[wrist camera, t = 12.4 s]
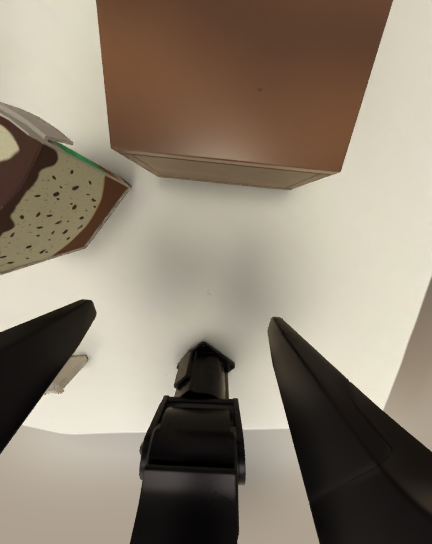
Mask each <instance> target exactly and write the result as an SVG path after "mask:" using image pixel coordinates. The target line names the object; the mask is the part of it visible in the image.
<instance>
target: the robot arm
mask: <svg viewBox="0 0 432 544" xmlns="http://www.w3.org/2000/svg"><path fill="white" fill-rule="evenodd" d="M95 317H96V310H95V307H94V304H93V302H92V301H91V300H85V299H82V300H79V301H77V302H74V303H72V304H69V305H67V306H64V307H62V308H59V309H57V310H54V311H52V312H49V313H47V314H44V315H42V316H39V317H37V318H35V319H32V320H30V321H27V322H25V323H22V324H20V325H17V326H15V327H12V328H10V329H7V330H5V331H2V332H0V454H1V452H2V451H3V450H4V448H5V447H6V445H7V444H8V443H9V441H10V440H11V439H12V437H13V436H14V434H15V433H16V432H17V430H18V429H19V428H20V426H21V425H22V423H23V422H24V421H25V419H26V418H27V417H28V415H29V414H30V412H31V411H32V410H33V408H34V407H35V406H36V404H37V403H38V401H39V400H40V399H41V397H42V396H43V394H44V393H45V392H46V390H47V389H48V388H49V386H50V385H51V383H52V382H53V381H54V379H55V378H56V377H57V375H58V374H59V372H60V371H61V370H62V368H63V367H64V365H65V364H66V363H67V361H68V360H69V359H70V357H71V356H72V354H73V353H74V352H75V350H76V349H77V347H78V346H79V344H80V343H81V341H82V339H83V338H84V336H85V334H86V333H87V331H88V329H89V328H90V326H91V324H92V323H93V321H94V319H95ZM268 338H269V344H270V351H271V357H272V363H273V367H274V371H275V375H276V379H277V383H278V386H279V390H280V394H281V398H282V402H283V405H284V409H285V413H286V417H287V421H288V424H289V428H290V432H291V435H292V440H293V443H294V447H295V451H296V455H297V459H298V462H299V466H300V470H301V473H302V478H303V481H304V485H305V489H306V492H307V497H308V500H309V504H310V509H311V512H312V516H313V519H314V524H315V528H316V531H317V535H318V539H319V542H320V544H432V452H431V451H430V450H429V449H428V448H426V447H425V446H424V445H423V444H422V443H420V442H419V441H418V440H417V439H416V438H414V437H413V436H412V435H411V434H410V433H408V432H407V431H406V430H405V429H404V428H402V427H401V426H400V425H399V424H398V423H396V422H395V421H394V420H393V419H392V418H391V417H389V416H388V415H387V414H386V413H385V412H384V411H382V410H381V409H380V408H379V407H378V406H377V405H376V404H374V403H373V402H372V401H371V400H370V399H369V398H368V397H367V396H365V395H364V394H363V393H362V392H361V391H360V390H359V389H358V388H357V387H356V386H355V385H353V384H352V383H351V382H349V380H348V379H347V378H346V377H345V376H344V375H342V374H341V373H340V372H339V371H338V370H337V369H336V368H335V367H334V366H333V365H332V364H331V363H329V362H328V361H327V360H326V359H325V358H324V357H323V356H322V355H321V354H320V353H319V352H318V351H316V350H315V349H314V348H313V347H312V346H311V345H310V344H309V343H308V342H307V341H306V340H305V339H303V338H302V337H301V336H300V335H299V334H298V333H297V332H296V331H295V330H294V329H293V328H292V327H290V326H289V325H288V324H287V323H286V322H285V321H284V320H283V319H282V318H280V317H272V318H271V321H270V324H269V327H268ZM202 345H204V346H202ZM234 368H235V363H234V362H233V361H231V360H230V359H228V358H227V357H226V356H224V355H223V354H221V353H220V352H219V351H217V350H216V349H214V348H213V347H211V346H210V345H209V344H207V343H206V342H201V343H200V344H199V345H198V346H197V347H196V348H195V349H193V350H191V351H190V352H189V353H187V354H186V355H185V356H184V357H183V358H182V359H181V361H180V362H179V363H178V364H177V369H178V372H177V375H176V379H175V383H174V388H176V392H175V396H174V397H169V396H164V397H163V400H162V402H161V403H160V405H159V407H158V409H157V411H156V413H155V416H154V418H153V420H152V422H151V424H150V427H149V429H148V431H147V433H146V435H145V438H144V441H143V442H142V444H141V447H140V454H141V461H140V470H139V475H140V479H141V480H143V481H142V487H141V494H140V499H139V505H138V509H137V514H136V519H135V523H134V528H133V532H132V537H131V541H130V544H237V540H238V535H239V514H238V513H239V511H238V485H245V475H246V473H245V450H244V438H243V432H242V424H241V417H240V410H239V403H238V398H233V399H229V391H228V372H230V371H231V370H232V369H234Z"/></svg>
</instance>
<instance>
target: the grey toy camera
mask: <svg viewBox="0 0 432 544" xmlns="http://www.w3.org/2000/svg"><path fill="white" fill-rule="evenodd" d="M87 362H88V360H87V358H86V356H75V357H70V359H69V360H68V361H67V363H66V364H65V365H64V367H63V368H62V370H61V371H60V372H59V374H58V375H57V377H56V378H55V379H54V381H53V382H52V383H51V385H50V386H49V388H48V389H47V390H46V392H45V393H44V395H46V394H49V393H58V394H59V393H60V394H61V393H62V392H64V390H63V388H64V387H65V386H66V385H67V384H68V383H69V382H70V381H71V380H72V378H73V377H74V376H75V375H76V374H77V373H78V372H79V371H80V370H81V368H82V367H83V366H84V365H85V364H86V363H87Z"/></svg>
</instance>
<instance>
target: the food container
mask: <svg viewBox="0 0 432 544" xmlns="http://www.w3.org/2000/svg"><path fill="white" fill-rule="evenodd" d="M58 142H61V143H65V144H70V145H73V142H72V141H71V140H70V139H69V138H67V137H66V136H65V135H64V134H63V133H61V132H60V131H59V130H58V129H56V128H55V127H53V126H52V125H50V124H49V123H47V122H46V121H44V120H42V119H41V118H39V117H37V116H35V115H33V114H31V113H29V112H26V111H24V110H22V109H20V108H17V107H14V106H10V105H7V104H4V103H1V102H0V275H2V274H5V273H8V272H12V271H15V270H18V269H21V268H24V267H27V266H30V265H34V264H37V263H40V262H43V261H46V260H49V259H53V258H56V257H59V256H62V255H65V254H68V253H71V252H75V251H78V250H81V249H84V248H86V247H87V245H88V244H89V243H90V241H91V240H92V239H93V237H94V236H95V235H96V233H97V232H98V231H99V229H100V228H101V227H102V225H103V224H104V223H105V221H106V220H107V219H108V217H109V216H110V215H111V213H112V212H113V211H114V209H115V208H116V207H117V205H118V204H119V203H120V201H121V200H122V199H123V197H124V196H125V195H126V193H127V192H128V191H129V189H130V188H131V187H132V186H130V185H129V184H128V183H127V182H126V181H124V180H123V179H122V178H120V177H119V176H117V175H115V174H113V173H112V172H110V171H108V170H106V169H104V168H103V167H101V166H99V165H97V164H96V163H94V162H92V161H90V160H89V159H87V158H85V157H83V156H81V155H80V154H78V153H76V152H74V151H73V150H71V149H69V148H67V147H66V146H64V145H62V144H60V143H58Z"/></svg>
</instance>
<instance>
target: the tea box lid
mask: <svg viewBox="0 0 432 544" xmlns="http://www.w3.org/2000/svg"><path fill="white" fill-rule="evenodd" d="M392 2H393V0H96V4H97V14H98V24H99V34H100V44H101V54H102V64H103V74H104V84H105V94H106V104H107V114H108V124H109V134H110V144H111V148H112V149H113V150H115V151H116V152H119V153H128V154H138V155H148V156H157V157H167V158H177V159H186V160H196V161H206V162H215V163H225V164H235V165H245V166H254V167H264V168H274V169H283V170H293V171H303V172H312V173H322V174H332V175H333V174H336V173H339V172H340V171H341V168H342V165H343V162H344V159H345V155H346V152H347V149H348V146H349V142H350V139H351V136H352V133H353V129H354V126H355V123H356V120H357V116H358V113H359V110H360V106H361V103H362V100H363V97H364V93H365V90H366V87H367V84H368V80H369V77H370V74H371V71H372V67H373V64H374V61H375V57H376V54H377V51H378V48H379V44H380V41H381V38H382V35H383V31H384V28H385V25H386V22H387V18H388V15H389V12H390V9H391V5H392Z"/></svg>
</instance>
